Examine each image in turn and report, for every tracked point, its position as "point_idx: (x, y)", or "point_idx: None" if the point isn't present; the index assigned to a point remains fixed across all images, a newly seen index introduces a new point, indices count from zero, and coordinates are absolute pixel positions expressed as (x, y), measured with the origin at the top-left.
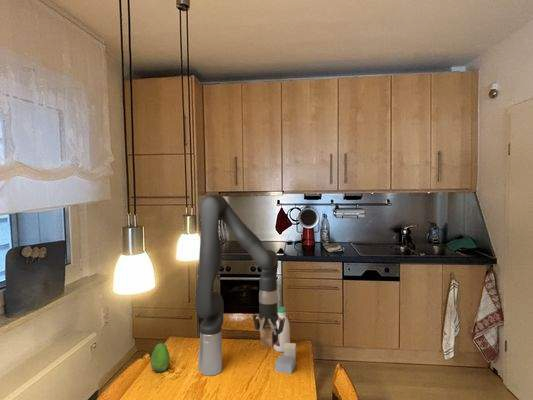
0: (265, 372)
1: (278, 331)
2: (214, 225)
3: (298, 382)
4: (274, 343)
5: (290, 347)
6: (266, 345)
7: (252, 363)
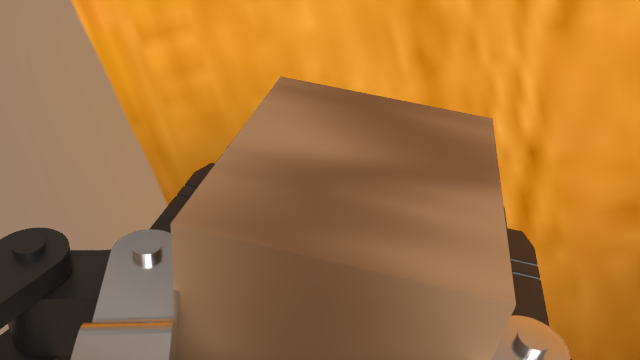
0: (458, 101)
1: (20, 270)
2: None
3: (171, 23)
4: None
5: None
6: (374, 100)
7: (597, 206)
